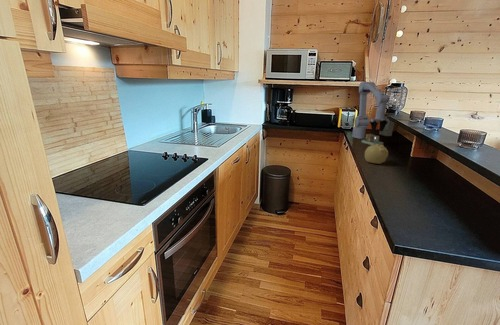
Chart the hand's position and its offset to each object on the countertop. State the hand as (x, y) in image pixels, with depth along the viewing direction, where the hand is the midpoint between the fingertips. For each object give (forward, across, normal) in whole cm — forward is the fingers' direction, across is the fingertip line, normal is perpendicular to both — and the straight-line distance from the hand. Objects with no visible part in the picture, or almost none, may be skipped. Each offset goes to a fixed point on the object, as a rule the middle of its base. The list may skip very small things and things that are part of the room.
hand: (377, 131), depth 188 cm
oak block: (+10, 0, +6) cm, 11 cm away
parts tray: (+10, 0, +3) cm, 10 cm away
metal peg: (+10, 0, 0) cm, 10 cm away
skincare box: (+10, +38, +22) cm, 45 cm away
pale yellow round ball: (+10, -37, -32) cm, 50 cm away
